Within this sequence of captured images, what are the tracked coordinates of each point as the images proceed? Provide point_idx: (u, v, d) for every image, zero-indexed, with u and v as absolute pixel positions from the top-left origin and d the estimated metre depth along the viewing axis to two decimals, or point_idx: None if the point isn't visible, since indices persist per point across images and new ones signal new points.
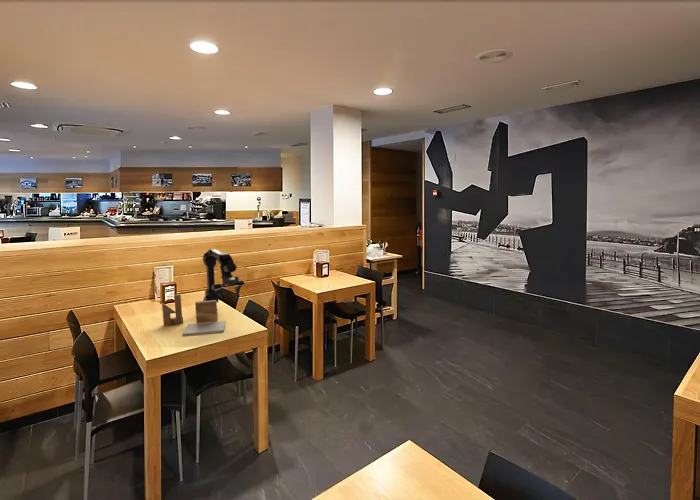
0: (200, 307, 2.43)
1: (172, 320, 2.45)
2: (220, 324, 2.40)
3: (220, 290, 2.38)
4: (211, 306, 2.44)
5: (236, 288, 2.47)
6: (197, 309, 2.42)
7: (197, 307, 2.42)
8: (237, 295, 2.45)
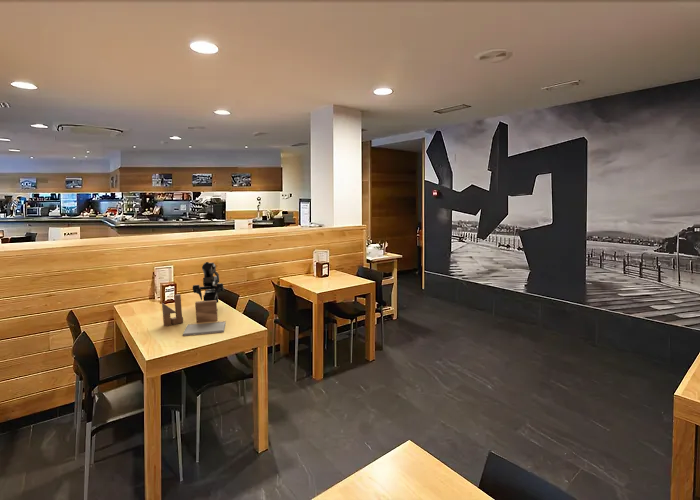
0: (200, 307, 2.43)
1: (172, 320, 2.45)
2: (220, 324, 2.40)
3: (199, 289, 2.56)
4: (211, 306, 2.44)
5: (215, 291, 2.60)
6: (197, 309, 2.42)
7: (197, 307, 2.42)
8: (214, 296, 2.57)
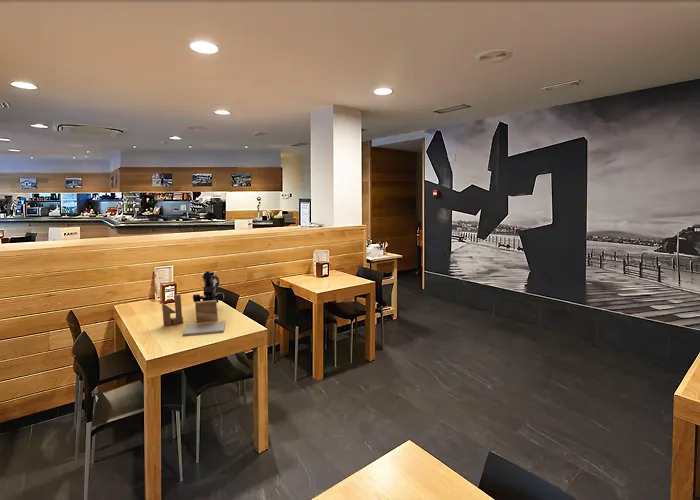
0: (200, 307, 2.43)
1: (172, 320, 2.45)
2: (220, 324, 2.40)
3: (205, 298, 2.56)
4: (211, 306, 2.44)
5: None
6: (197, 309, 2.42)
7: (197, 307, 2.42)
8: None
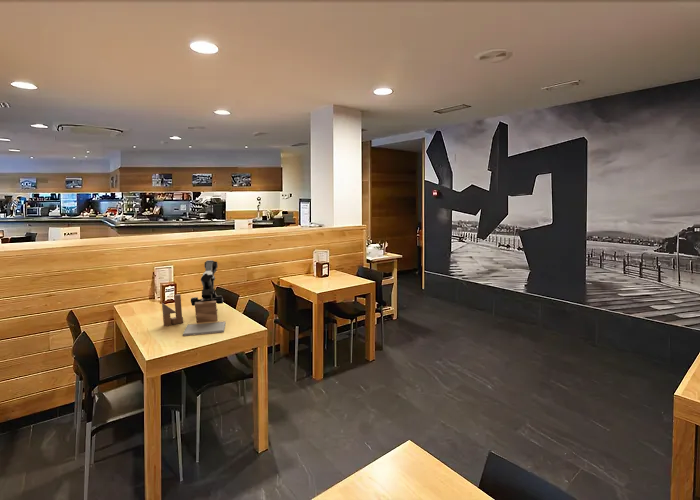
0: (200, 308, 2.41)
1: (172, 320, 2.45)
2: (220, 324, 2.40)
3: None
4: (211, 307, 2.42)
5: None
6: (197, 310, 2.41)
7: (197, 308, 2.41)
8: None
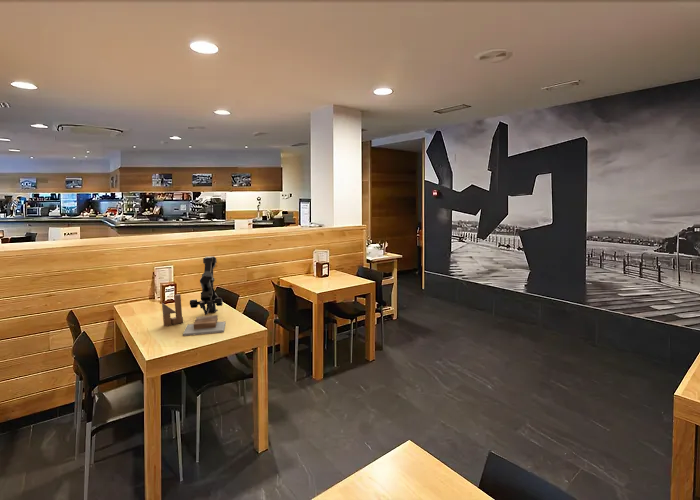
0: None
1: (172, 320, 2.45)
2: (220, 324, 2.40)
3: (203, 304, 2.43)
4: None
5: None
6: None
7: None
8: (206, 312, 2.42)
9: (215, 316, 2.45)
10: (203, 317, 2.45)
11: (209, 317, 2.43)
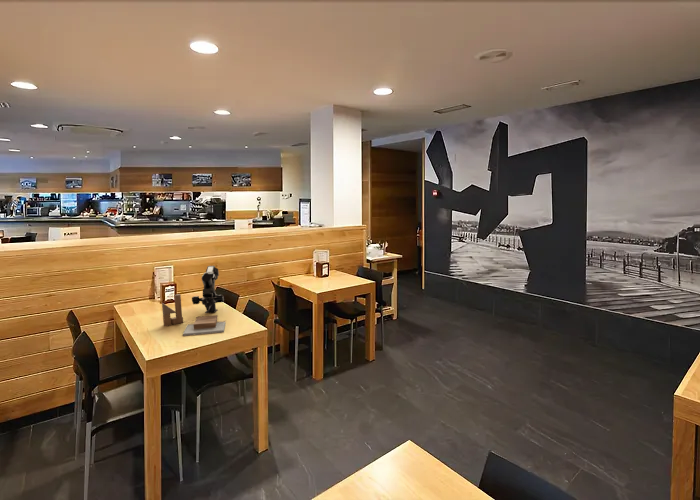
0: None
1: (172, 320, 2.45)
2: (220, 324, 2.40)
3: (204, 300, 2.52)
4: None
5: None
6: None
7: None
8: (207, 308, 2.51)
9: (215, 316, 2.45)
10: (203, 317, 2.45)
11: (209, 317, 2.43)
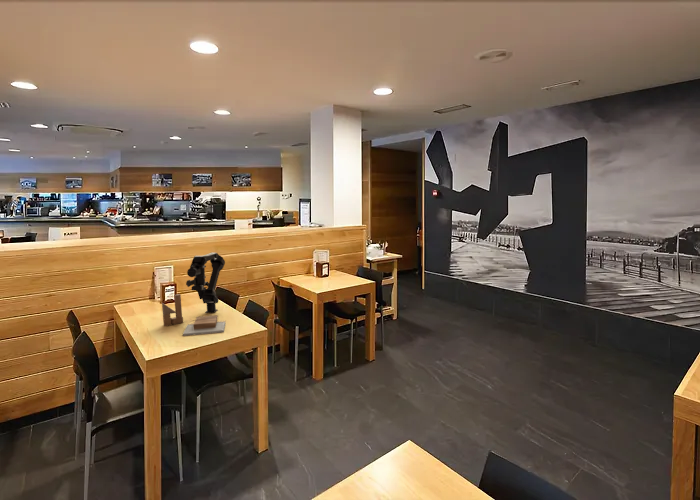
0: None
1: (172, 320, 2.45)
2: (220, 324, 2.40)
3: None
4: None
5: None
6: None
7: None
8: None
9: (215, 316, 2.45)
10: (203, 317, 2.45)
11: (209, 317, 2.43)
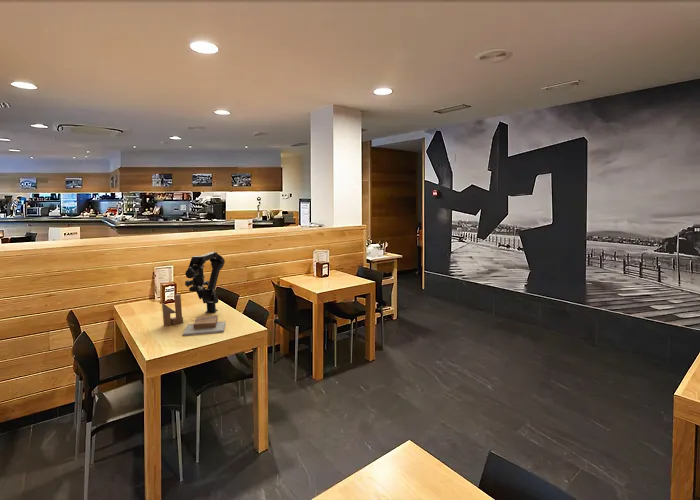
0: None
1: (172, 320, 2.45)
2: (220, 324, 2.40)
3: None
4: None
5: None
6: None
7: None
8: (199, 296, 2.58)
9: (215, 316, 2.45)
10: (203, 317, 2.45)
11: (209, 317, 2.43)
